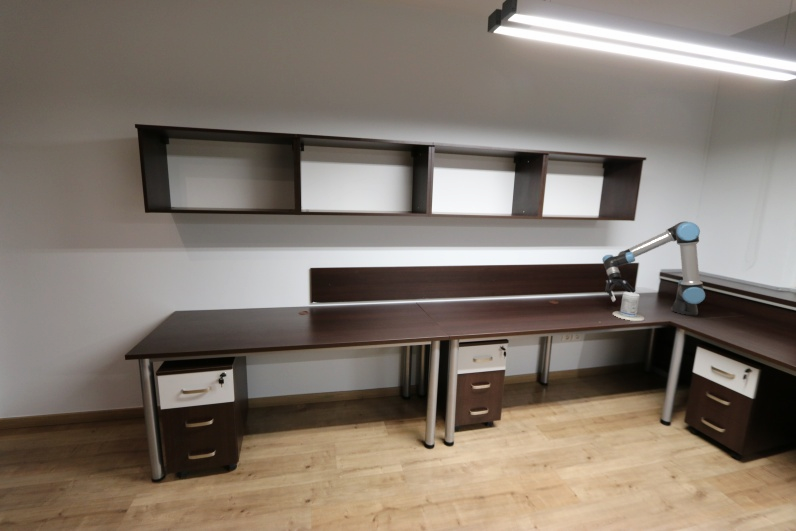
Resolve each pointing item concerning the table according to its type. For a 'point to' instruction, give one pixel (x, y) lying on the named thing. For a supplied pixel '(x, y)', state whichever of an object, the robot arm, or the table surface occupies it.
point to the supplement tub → (629, 304)
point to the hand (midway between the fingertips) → (624, 301)
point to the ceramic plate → (636, 318)
